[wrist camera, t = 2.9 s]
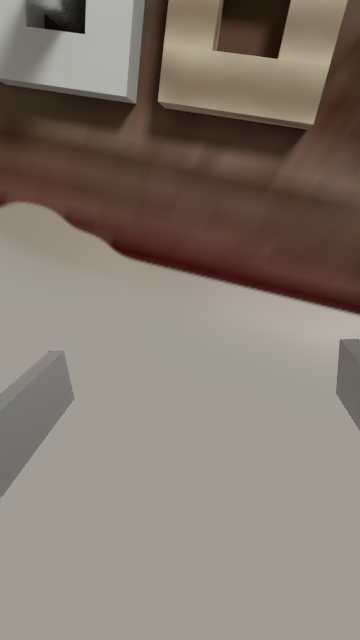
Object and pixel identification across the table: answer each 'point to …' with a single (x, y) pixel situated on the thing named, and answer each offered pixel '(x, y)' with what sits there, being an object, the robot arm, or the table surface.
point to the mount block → (73, 50)
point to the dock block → (248, 64)
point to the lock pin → (64, 13)
